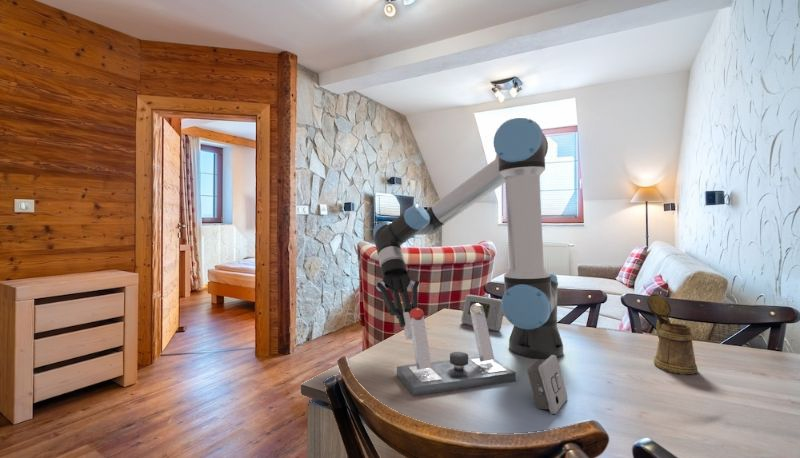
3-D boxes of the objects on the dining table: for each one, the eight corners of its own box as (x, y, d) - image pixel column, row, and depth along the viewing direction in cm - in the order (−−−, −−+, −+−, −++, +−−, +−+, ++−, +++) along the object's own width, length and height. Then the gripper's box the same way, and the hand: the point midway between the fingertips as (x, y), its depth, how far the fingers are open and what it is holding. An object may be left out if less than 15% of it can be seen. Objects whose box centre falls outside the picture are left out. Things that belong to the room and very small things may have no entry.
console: (489, 362, 100) (489, 349, 100) (515, 380, 89) (515, 365, 89) (396, 374, 92) (396, 360, 92) (413, 396, 81) (413, 379, 81)
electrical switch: (555, 416, 73) (551, 368, 73) (528, 410, 76) (525, 364, 76) (568, 399, 80) (564, 355, 80) (543, 394, 83) (540, 352, 84)
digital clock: (458, 323, 139) (458, 295, 139) (475, 319, 144) (475, 292, 144) (492, 334, 126) (492, 303, 126) (509, 330, 131) (509, 299, 131)
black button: (462, 358, 94) (462, 351, 94) (471, 364, 89) (471, 357, 89) (446, 360, 92) (446, 352, 92) (454, 366, 88) (454, 359, 88)
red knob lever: (428, 368, 90) (419, 308, 96) (433, 367, 87) (424, 305, 93) (414, 370, 89) (406, 309, 95) (419, 369, 86) (410, 306, 92)
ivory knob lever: (490, 360, 96) (478, 304, 101) (497, 359, 92) (484, 301, 98) (477, 362, 94) (466, 305, 100) (484, 360, 91) (472, 302, 97)
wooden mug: (668, 355, 106) (669, 292, 106) (706, 375, 92) (708, 303, 92) (636, 355, 106) (637, 292, 106) (670, 375, 93) (672, 303, 92)
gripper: (410, 272, 117) (429, 341, 101) (369, 273, 113) (383, 346, 97) (416, 256, 112) (437, 327, 96) (373, 257, 108) (389, 331, 92)
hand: (410, 336), depth 97 cm, fingers closed
